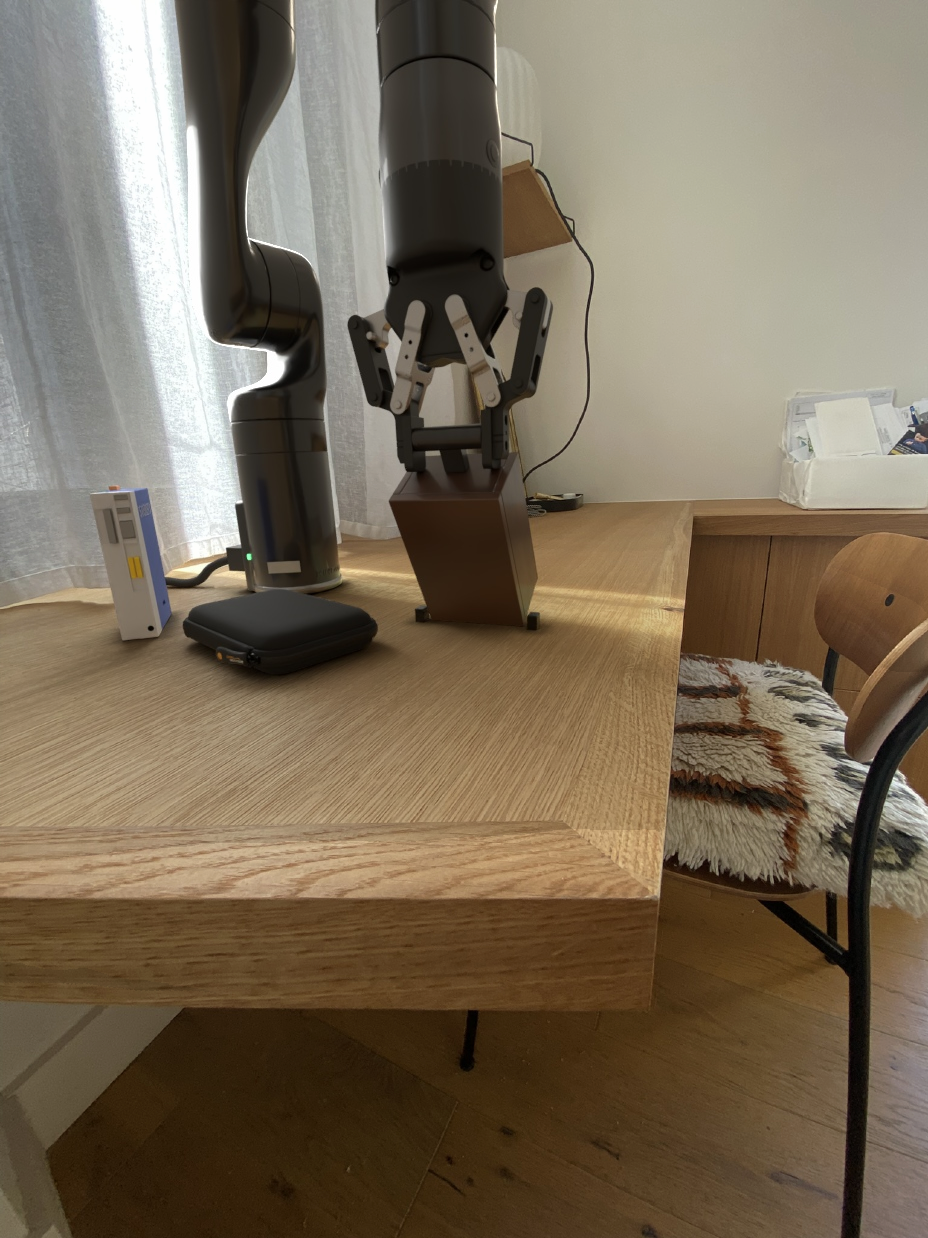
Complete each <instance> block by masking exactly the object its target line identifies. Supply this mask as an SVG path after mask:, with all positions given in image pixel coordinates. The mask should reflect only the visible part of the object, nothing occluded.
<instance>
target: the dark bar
mask: <svg viewBox="0 0 928 1238" xmlns="http://www.w3.org/2000/svg"><path fill="white" fill-rule="evenodd" d="M414 618H415V623H425V622H427V621H429V620H430V614H429V611H428V609H427V606H426V605H424V604H422V605H419V606H417V607H415V608H414ZM540 627H541V613H540V612H537V611H530V612H528V613H527V616H526V630H527V631H538V630H539V628H540Z"/></svg>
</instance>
